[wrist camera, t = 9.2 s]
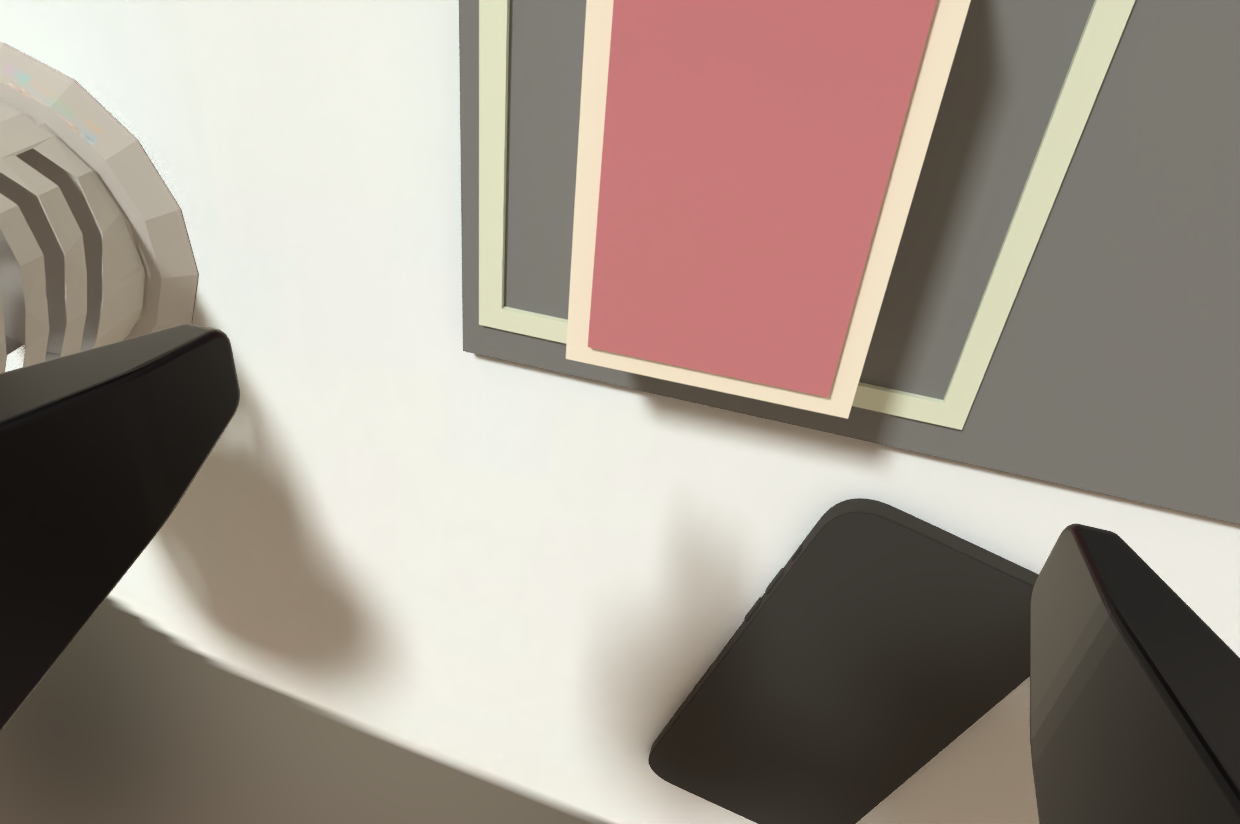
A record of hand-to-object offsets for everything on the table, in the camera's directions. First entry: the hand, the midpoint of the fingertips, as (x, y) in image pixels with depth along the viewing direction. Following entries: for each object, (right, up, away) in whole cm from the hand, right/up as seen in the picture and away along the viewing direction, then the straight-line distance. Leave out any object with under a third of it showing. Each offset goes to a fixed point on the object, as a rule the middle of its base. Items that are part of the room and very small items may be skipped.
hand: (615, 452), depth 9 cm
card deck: (+3, +6, +9) cm, 11 cm away
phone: (+7, -8, +19) cm, 22 cm away
